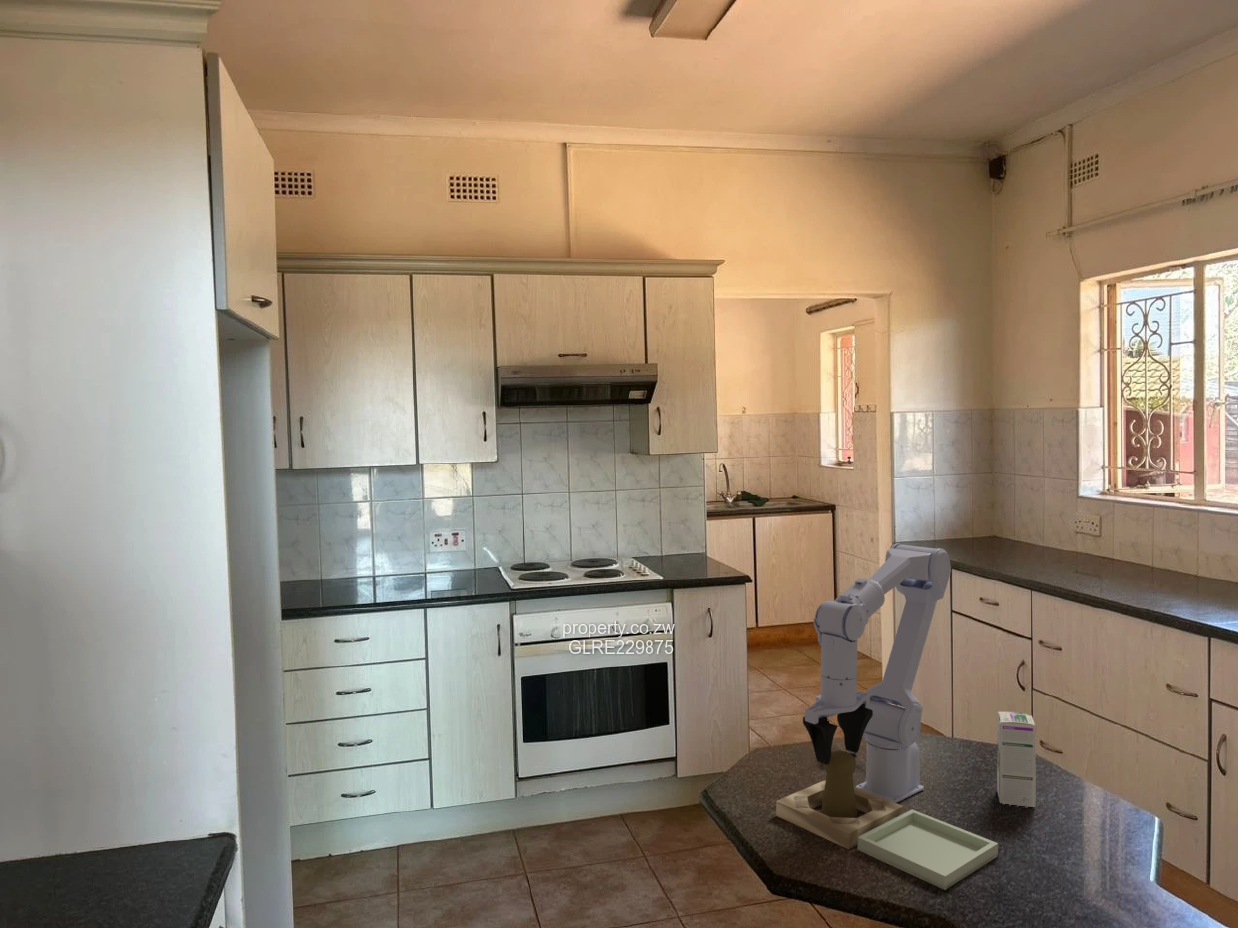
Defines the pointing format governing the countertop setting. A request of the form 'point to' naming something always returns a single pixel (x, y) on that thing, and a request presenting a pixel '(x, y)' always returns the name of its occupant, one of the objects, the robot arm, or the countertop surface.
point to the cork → (839, 786)
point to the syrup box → (1016, 759)
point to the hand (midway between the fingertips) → (837, 756)
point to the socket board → (836, 828)
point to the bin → (928, 848)
